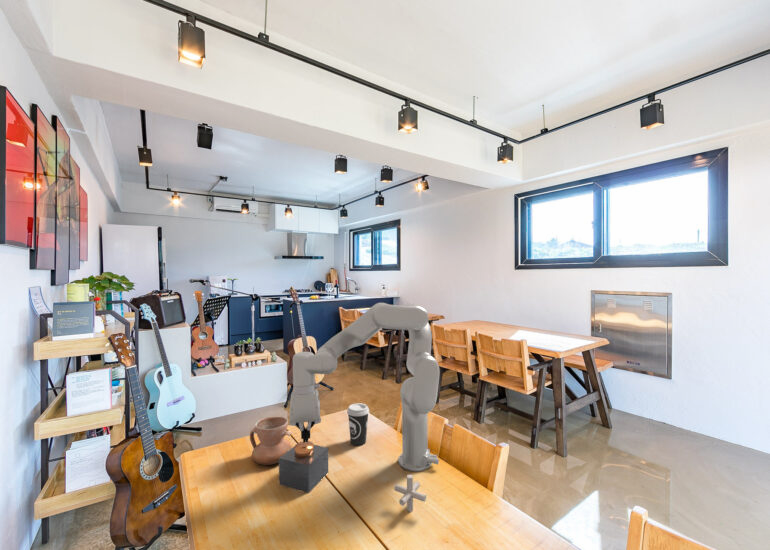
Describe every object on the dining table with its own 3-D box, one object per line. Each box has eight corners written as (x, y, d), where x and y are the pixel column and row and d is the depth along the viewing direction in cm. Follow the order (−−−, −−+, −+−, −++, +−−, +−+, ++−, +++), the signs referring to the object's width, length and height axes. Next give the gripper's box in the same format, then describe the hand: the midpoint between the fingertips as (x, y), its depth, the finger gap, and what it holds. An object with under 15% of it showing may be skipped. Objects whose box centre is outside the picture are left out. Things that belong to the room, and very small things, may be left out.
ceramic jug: (301, 452, 133) (300, 416, 134) (280, 472, 119) (280, 432, 120) (262, 447, 138) (262, 412, 139) (238, 465, 124) (238, 427, 125)
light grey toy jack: (417, 526, 93) (417, 491, 94) (387, 513, 99) (387, 479, 99) (431, 505, 102) (431, 473, 102) (403, 494, 107) (403, 463, 107)
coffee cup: (368, 447, 137) (368, 411, 137) (345, 447, 137) (345, 411, 137) (370, 436, 146) (370, 402, 146) (348, 436, 146) (348, 402, 146)
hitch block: (328, 472, 119) (328, 447, 119) (308, 493, 108) (308, 465, 108) (300, 465, 124) (300, 441, 124) (279, 484, 113) (278, 458, 113)
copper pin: (317, 472, 118) (317, 443, 118) (306, 483, 112) (306, 451, 112) (302, 468, 120) (302, 439, 120) (290, 478, 114) (290, 448, 114)
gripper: (326, 383, 121) (327, 433, 121) (284, 386, 119) (285, 437, 119) (325, 390, 113) (327, 443, 113) (280, 393, 111) (282, 448, 111)
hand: (305, 440), depth 116 cm, fingers closed
